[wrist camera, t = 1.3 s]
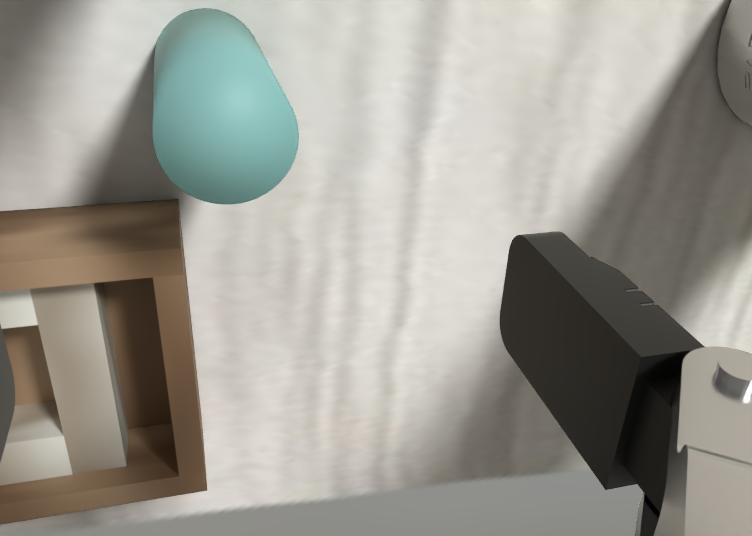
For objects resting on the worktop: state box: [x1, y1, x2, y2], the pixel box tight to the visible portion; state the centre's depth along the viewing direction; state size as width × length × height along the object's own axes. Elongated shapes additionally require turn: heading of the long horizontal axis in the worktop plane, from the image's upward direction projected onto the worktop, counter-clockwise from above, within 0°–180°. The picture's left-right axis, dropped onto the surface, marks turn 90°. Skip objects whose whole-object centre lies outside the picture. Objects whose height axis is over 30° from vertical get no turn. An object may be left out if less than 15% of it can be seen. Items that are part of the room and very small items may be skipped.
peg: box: [153, 8, 299, 204], centre depth 21 cm, size 4×4×8 cm
